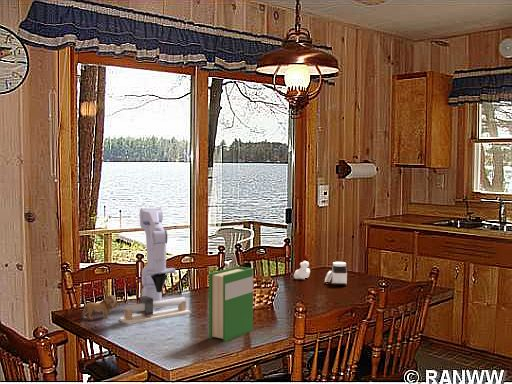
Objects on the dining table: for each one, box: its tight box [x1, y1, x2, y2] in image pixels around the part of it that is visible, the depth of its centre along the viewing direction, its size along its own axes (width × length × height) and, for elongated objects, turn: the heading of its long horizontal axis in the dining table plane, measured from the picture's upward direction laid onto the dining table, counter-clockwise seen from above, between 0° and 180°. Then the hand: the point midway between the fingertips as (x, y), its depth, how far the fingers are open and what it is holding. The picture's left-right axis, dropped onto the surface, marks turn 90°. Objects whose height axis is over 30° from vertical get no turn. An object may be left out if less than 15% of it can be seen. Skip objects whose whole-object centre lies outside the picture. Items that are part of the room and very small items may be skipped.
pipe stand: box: [119, 296, 192, 325], centre depth 251 cm, size 8×29×6 cm, turn 128°
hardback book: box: [208, 266, 254, 342], centre depth 227 cm, size 18×7×24 cm, turn 146°
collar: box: [138, 295, 154, 316], centre depth 249 cm, size 6×3×7 cm, turn 38°
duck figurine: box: [293, 260, 311, 280], centre depth 333 cm, size 12×8×11 cm
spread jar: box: [324, 261, 348, 286], centre depth 319 cm, size 12×11×12 cm
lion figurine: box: [79, 294, 117, 321], centre depth 249 cm, size 15×5×9 cm, turn 118°
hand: (159, 291), depth 252 cm, fingers closed
